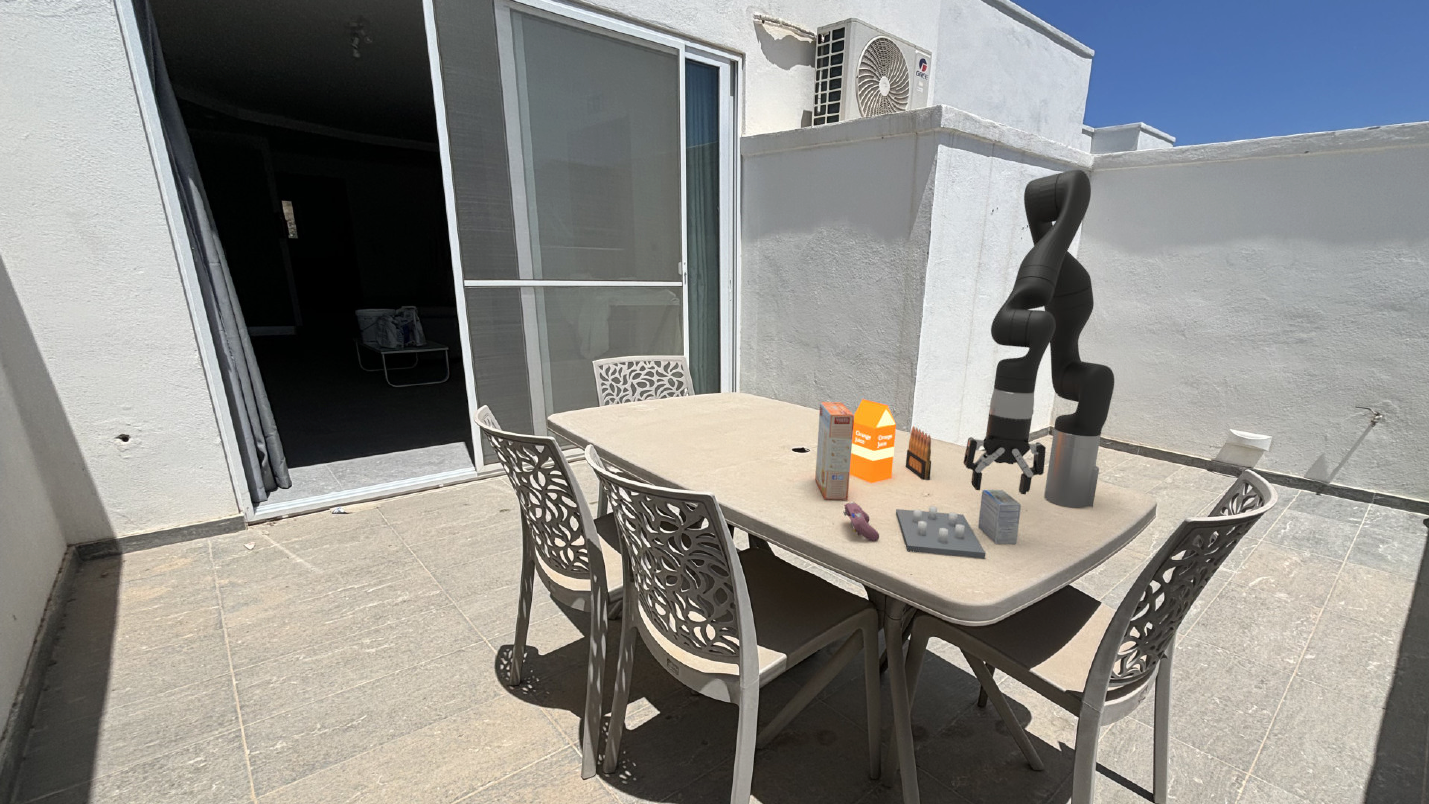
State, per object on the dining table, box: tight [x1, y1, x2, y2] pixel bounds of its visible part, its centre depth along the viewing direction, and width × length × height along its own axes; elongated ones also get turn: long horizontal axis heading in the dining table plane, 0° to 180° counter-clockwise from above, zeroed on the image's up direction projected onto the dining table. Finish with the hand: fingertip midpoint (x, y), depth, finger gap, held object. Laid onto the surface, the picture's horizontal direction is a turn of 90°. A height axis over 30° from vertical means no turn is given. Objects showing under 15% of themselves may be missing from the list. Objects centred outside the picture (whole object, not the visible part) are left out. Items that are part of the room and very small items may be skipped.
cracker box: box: [814, 401, 854, 501], centre depth 139 cm, size 14×6×21 cm, turn 179°
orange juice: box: [849, 398, 897, 484], centre depth 150 cm, size 8×9×20 cm
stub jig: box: [895, 505, 987, 560], centre depth 117 cm, size 14×18×4 cm
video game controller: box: [843, 500, 880, 542], centre depth 118 cm, size 10×5×7 cm, turn 178°
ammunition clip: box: [905, 425, 932, 481], centre depth 153 cm, size 11×2×12 cm, turn 7°
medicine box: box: [977, 489, 1022, 545], centre depth 116 cm, size 8×4×9 cm, turn 179°
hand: (999, 491), depth 115 cm, fingers open, 8 cm apart
